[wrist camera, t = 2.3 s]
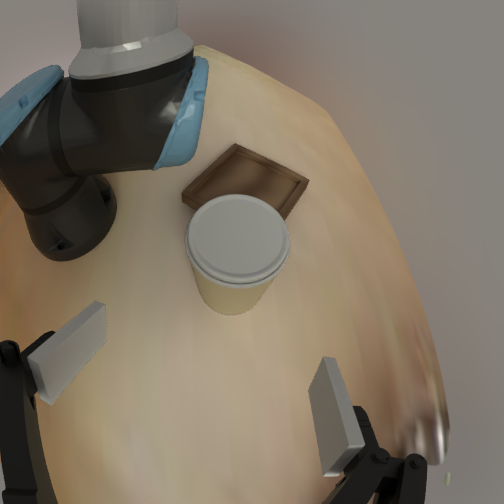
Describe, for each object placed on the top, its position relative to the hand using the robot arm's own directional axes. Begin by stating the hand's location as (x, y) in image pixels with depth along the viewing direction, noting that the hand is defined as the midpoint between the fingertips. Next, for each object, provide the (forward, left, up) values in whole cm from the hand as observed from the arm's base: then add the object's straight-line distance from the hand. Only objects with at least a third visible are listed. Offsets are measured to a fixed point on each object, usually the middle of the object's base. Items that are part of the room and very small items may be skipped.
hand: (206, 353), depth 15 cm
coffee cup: (-4, +10, -16) cm, 19 cm away
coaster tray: (-10, +24, -16) cm, 31 cm away
